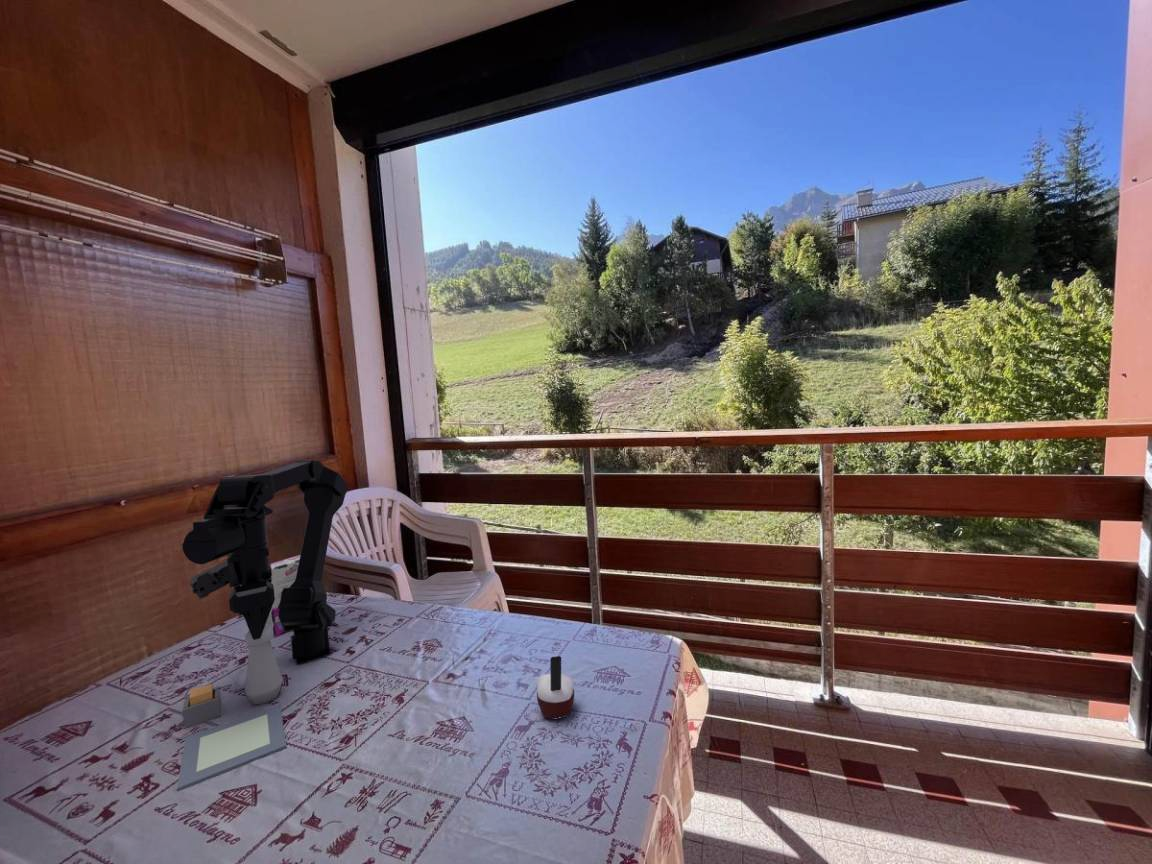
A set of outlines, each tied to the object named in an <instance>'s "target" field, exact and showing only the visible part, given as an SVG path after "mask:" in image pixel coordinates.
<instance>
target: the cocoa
mask: <svg viewBox="0 0 1152 864" xmlns="http://www.w3.org/2000/svg"><path fill="white" fill-rule="evenodd" d="M549 664H550V665H549V666H550V673H546V674H545V673H544V674H542V675H540V676H539V677H538V679H537V682H536V683H537V684H536V691H537V692H536V699H537V703H538V704H537V705H538V707H539V710H540V712H541V713H542V714H543V716H544V715H545V716H544V717H546V716H547V717H546V718H548V717H549V718H548V719H550V718H559V717H563V716H565V715H567V714H568V715H569V714H570V712H571V711H572V709H573V707H574V702H575V701H574V700H575V681H574V680H573V678H571V677H570V676H568V675H566V674H565V673H563V672H562V657H561V656H559V655H557V656H552V657H550V662H549ZM568 715H567V716H568ZM565 717H566V716H565ZM563 718H564V717H563Z"/></svg>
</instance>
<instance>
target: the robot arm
mask: <svg viewBox="0 0 1152 864" xmlns="http://www.w3.org/2000/svg"><path fill="white" fill-rule="evenodd" d="M293 486H296V488H297V489H298V491H300V492H301V493H302V494H303V503H304V505H305V507H306V510H307V512H308V516H307V521H306V524H305V525H306V526H305V530H304V531H305V532H304V535H303V540H302V546H301V551H300V554H299V555H300V560H299V565H298V570H297V574H296V579H295V581H294V582H293V584H292V585H291V586H290V587H289V588H284V589H283V591H282V592H281V600H280V604H279V606H278V609H279V610H278V618H279V619H280V622H281V624H282V626H283V629H284V631H289V632H291V631H292V635H290V637H289V638H290V649H291V656H292V659H293V660H295V663H296V665H298V666H299V665H301V664H304V663H308V662H311V661H314V660H317V659H318V660H319V659H321V658H324V657H327V656H331V655H332V650H331V648H330V637H329V628H330V627H332V626H333V625H334V624H333V623H334V622H335V621H336V615H337V610H336V609H334V608H333V607H332V606H330V604H329V603H327V599H328V593H327V591H326V588H325V587H324V585H323V581H322V578H323V574H324V568H325V563H326V556H327V552H328V546H329V539H330V534H331V530H332V529H331V528H332V524H333V518H334V515H335V514H337V512H338V511H339V509H341V508H342V506H343V504H344V501H345V497H346V495H347V493H348V483H347V482H346V480H344V478H343V477H342V475H340V474H339V472H336V471H334V470H332V469H330V468H329V467H326V466H324V464H323V463H322V462H321V461H319V460H316V459H306V460H302V459H301V460H296V461H294V462H292V463H290V464H287V465H283V466H280V467H277V468H273V469H271V470H268V471H265V472H263V473H258V474H247V475H246V474H245V475H234V476H226V477H225V476H224V477H223V478H222V479H220V480H219V482H218V486H217V487H216V489H215V491H214V494H213V496H212V498H211V500H210V501H209V503H208V506H207V508H206V511H205V513H204V516H203V519H199V520H196V521H193V523H192V528H193V529H192V530H191V531H189V532H187V534H186V536H185V537H184V539H183V543H182V544H181V545H182V546H181V547H182V548H181V549H182V552H183V554H184V555H185V557H186V559H187V560H189V561H190V562H191V563H194V564H197V565H206V564H208V563H211V562H213V561H215V560H216V561H217V560H218V559H220V558H223V557H225V556H227V559H226V561H224V562H221V563H219V564H218V563H217V564H216V565H215V566H212V567H210V568H208V569H205V570H204V571H202V572H200V573H198V574H196V575H195V576H193V577H192V578H191V579H190V582H189V585H190V587H191V589H192V593H193V594H195V595H196V596H197V597H198V599H199V600H201V599H204V598H206V597H208V596H209V595H210V594H211V593H214V592H216V591H218V590H220V589H221V588H224V587H225V586H227V585H229V588H233V590H232V591H231V592H230V593H229V597H228V603H229V604H228V605H229V611H230V612H231V613H234V614H238V615H241V616H243V619H244V621H245V623H246V625H247V628H248V631H250V633H251V636H252V638H253V640H256V639H260V638H261V636H262V633H263V630H264V627H265V624H266V622H267V619H268V616H269V613H270V611H271V608H272V606H273V604H274V601H275V595H274V586H273V584H272V583H271V582H272V577H271V576H272V571H271V563H270V553H269V542H268V541H269V540H268V534H267V533H268V532H267V531H268V530H267V522H266V516H270V515H272V514H273V513H274V510H273V509H271V508H270V507H268V506H266V505H267V504H268V503H270V502H271V501H272V500H274V499H275V497H276V494H278V493H279V492H281V491H283V490H286V489H288V488H290V487H293Z"/></svg>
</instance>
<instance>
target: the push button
mask: <svg viewBox="0 0 1152 864" xmlns="http://www.w3.org/2000/svg"><path fill="white" fill-rule="evenodd" d="M213 688H214V686H213V683H210V684H205V685H203V686H202V685H201V686H199V687H197V688H192V689H190V693H189V695H190V698H189V699H190V706H193V705H196V704H199V703H202V702H206V701H209V700H212V699H214V694H213Z"/></svg>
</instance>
